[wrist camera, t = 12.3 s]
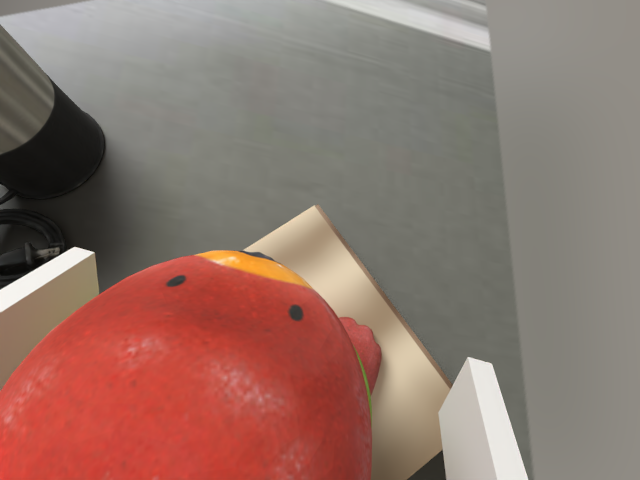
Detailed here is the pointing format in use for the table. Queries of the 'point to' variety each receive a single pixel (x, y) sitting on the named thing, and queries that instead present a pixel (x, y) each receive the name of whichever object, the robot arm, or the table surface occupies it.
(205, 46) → the table surface
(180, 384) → the stacking bear
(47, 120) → the milk frother
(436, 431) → the stepped wooden block
